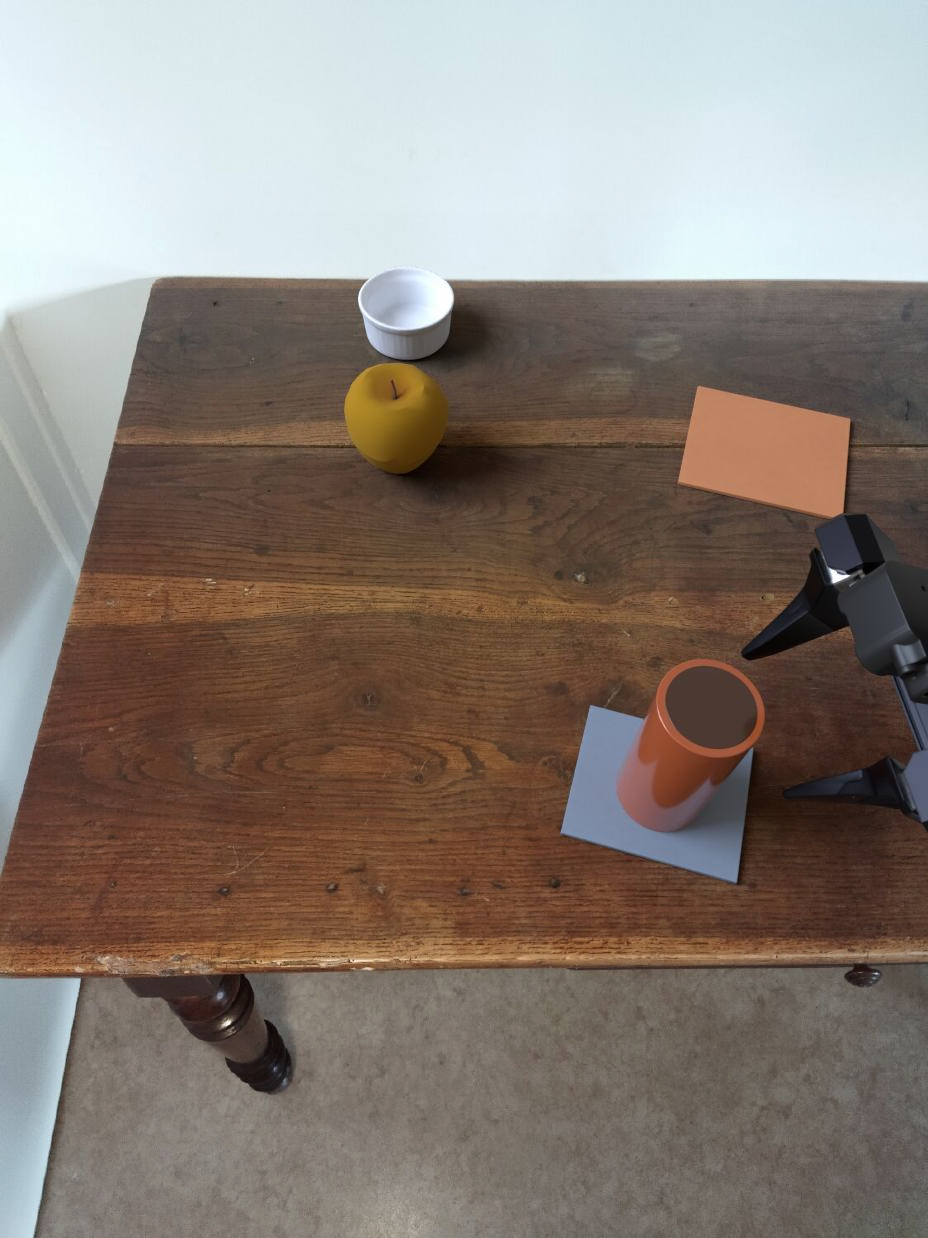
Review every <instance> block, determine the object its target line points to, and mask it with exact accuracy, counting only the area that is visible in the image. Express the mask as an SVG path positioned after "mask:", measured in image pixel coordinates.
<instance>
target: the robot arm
mask: <svg viewBox="0 0 928 1238" xmlns="http://www.w3.org/2000/svg"><path fill="white" fill-rule="evenodd" d="M814 533H815V536H816V538H817V542H818V545H819V546H820V547H819V548H820V549H821V550H819V548H817V547H813V548H812V549H811V550H810V552H809V553H808V557H809V560H810V568H809V571H808V573H807V576H806V580H805V583H804V585H803V586H802V588H801V590H800V591H799V592H798V593H797V594H796V595H795V597H794V598H793V599H792V600H791V601H790V602H789V604H788V605H787V606H786V607H785V608H784V609H783V610H782V611H780V612H779V614H778V615H777V616H776V617H775V618H774V619H772V620H771V621H770V622H769V623H768V624H767V625H766V626H764V628H763V629H762V630H761V631H760V632H759V633H757V635H756V636H754V637H753V639H752V640H750V641H749V643H747V644H746V646H744V647H743V648H742V649H741V651H740V654H741V657H742V659H745V660H746V661H748V662H751V661H756V660H759V659H763V658H767V657H771V656H774V655H777V654H780V653H783V652H785V651H787V650H790V649H793V648H795V647H798V646H801V645H803V644H806V643H809V642H811V641H813V640H816V639H819V638H822V637H825V636H827V635H830V634H832V633H835V632H838V631H841V630H843V629H845V628H848V627H849V629H850V632H851V634H852V637H853V639H854V645H853V651H854V653H855V655H856V658H857V659H858V661H859V663H860V664H861V665H862V667H863V668H864V669H865V670H866V671H868V672H869V673H870V674H873V675H875V676H879V677H886V676H890V678H891V681H892V684H893V687H894V689H895V692H896V694H897V697H898V699H899V703H900V705H901V707H902V711H903V713H904V715H905V718H906V720H907V723H908V725H909V728H910V732H911V734H912V736H913V739H914V742H915V744H916V747H917V750H918V751H915V752H913V753H912V755H911V756H910V758H909V760H908V762H907V764H904V763H903V762H901V761H899V760H897V759H896V758H894V757H892V756H890V755H886V756H884V757H882V758H880V759H879V760H878V761H876V762H875V763H873V764H871V765H869V766H867V767H864V768H861V769H856V770H851V771H847V772H843V773H838V774H834V775H830V776H826V777H822V778H818V779H817V778H816V779H814V780H809V781H805V782H801V783H799V784H797V785H794V786H792V787H789V788H785V789H784V790H781V796H782V799H784V800H786V801H789V802H799V803H819V804H820V803H821V804H839V805H840V804H842V805H843V804H844V805H860V806H861V805H863V806H874V807H882V808H886V809H888V808H889V809H894V810H900V812H901V813H902V814H903V815H904V816H905V817H906V818H908V819H911V820H912V821H915V822H916V823H918V824H921V825H922V826H923V828H924V829H925V831H926V833H928V568H924V567H921V566H916V565H913V564H910V563H906V562H903V561H902V559H901V557H900V554H899V552H898V549H897V547H896V544H895V542H894V541H893V540H892V539H891V538H890V537H889V535H887V534H886V533H885V532H884V531H883V530H882V529H881V527H880V526H878V525H877V523H876V522H875V521H873V520H872V518H870V516H869V515H867V514H866V513H863V512H843V513H841V514H839V515H837V516H835V517H833V518H831V519H827V520H824V521H823V522H821V523H819V524H817V525H815V526H814Z"/></svg>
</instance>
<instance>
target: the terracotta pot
mask: <svg viewBox="0 0 928 1238" xmlns="http://www.w3.org/2000/svg"><path fill="white" fill-rule="evenodd" d="M764 704H765V703H764V701H763V698H762V696H761V694H760V692H759V690H758V688H757V687H756V685H755V684H754V683H753V681H752V680H751V679H750V678H749V677H748V676H747V675H746V674H745V673H743V672H741V670H739V669H738V668H735V667H734V666H732V665H731V664H728V663H725V662H722V661H720V660H716V659H708V658H707V659H706V658H697V659H691V660H687V661H684V662H681V663H679V664H677V665H675V666H674V667H672V668H671V669H670V670H668V671H667V673H666V674H665V675H664V676H663V677H662V679H661V681H660V683H659V685H658V687H657V689H656V691H655V693H654V695H653V697H652V699H651V702H650V704H649V706H648V708H647V709H646V712H645V714H644V716H643V718H642V719H643V720H642V722H641V724H640V727H639V729H638V731H637V733H636V735H635V737H634V739H633V741H632V743H631V745H630V748H629V750H628V752H627V754H626V756H625V758H624V760H623V762H622V764H621V767H620V769H619V771H618V774H617V779H616V790H617V795H618V799H619V801H620V803H621V805H622V807H623V809H624V810H625V811H626V813H627V814H628V815H629V816H630V817H631V818H632V819H633V820H634V821H636V822H637V823H638V824H640V825H641V826H643V827H646V828H648V829H651V830H654V831H659V832H673V831H677V830H681V829H683V828H685V827H687V826H689V825H690V824H691V823H692V822H694V821H695V820H696V818H697V817H698V816H699V815H700V813H701V812H702V811H703V809H704V808H705V807H706V806H707V804H708V803H709V802H710V800H711V799H712V798H713V797H714V795H715V794H716V793H717V792H718V790H719V789H720V788H721V786H722V785H723V784H724V783H725V781H726V780H727V779H728V777H729V776H730V775H731V774H732V772H733V771H734V770H735V768H736V767H737V766H738V765H739V763H740V762H741V761H742V759H743V758H744V757H745V756H746V754H747V753H748V752H749V751H750V749H751V748H754V746H755V744H756V743H758V741H759V739H760V737H761V735H762V734H763V731H764V728H765V725H766V724H765V723H766V709H765V705H764Z"/></svg>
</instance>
